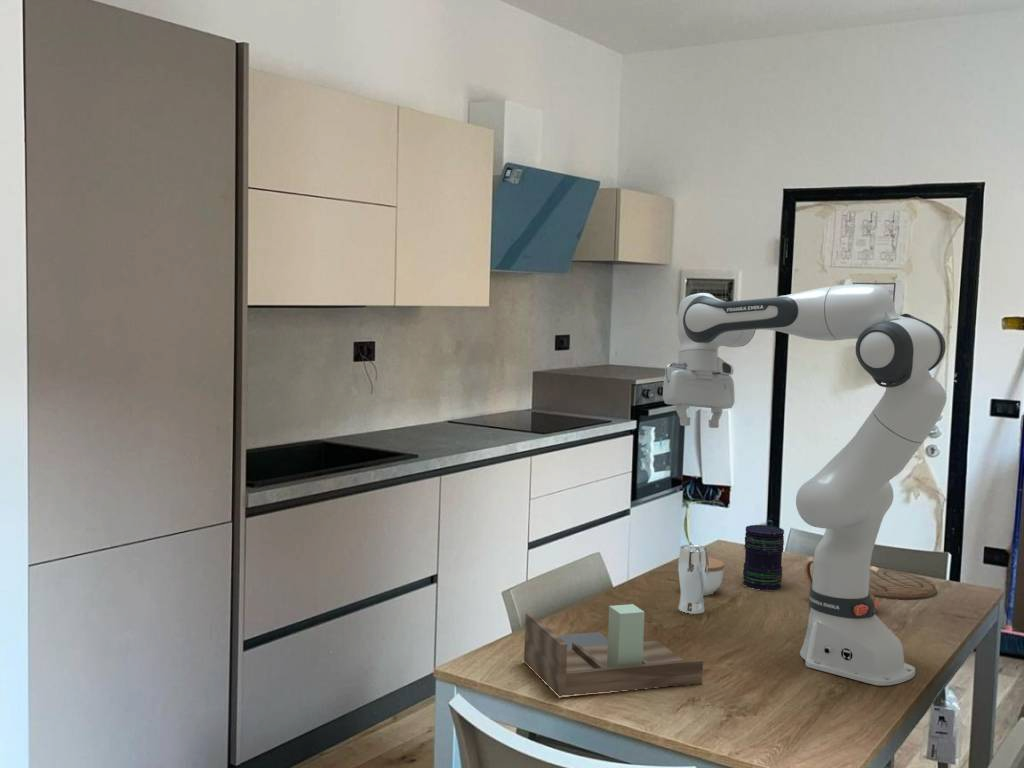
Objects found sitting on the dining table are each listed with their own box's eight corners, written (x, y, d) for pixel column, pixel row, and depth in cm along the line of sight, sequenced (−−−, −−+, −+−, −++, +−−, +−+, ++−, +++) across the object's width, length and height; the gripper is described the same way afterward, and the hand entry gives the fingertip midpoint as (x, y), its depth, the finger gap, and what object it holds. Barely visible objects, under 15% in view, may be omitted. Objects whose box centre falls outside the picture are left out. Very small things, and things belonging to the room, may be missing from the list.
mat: (542, 638, 215) (542, 636, 215) (598, 633, 219) (598, 631, 219) (563, 657, 204) (563, 655, 204) (622, 652, 208) (622, 650, 208)
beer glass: (697, 616, 233) (700, 553, 232) (671, 610, 238) (673, 548, 236) (711, 610, 239) (714, 547, 238) (684, 604, 243) (687, 542, 242)
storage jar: (734, 582, 264) (737, 526, 263) (764, 579, 268) (767, 523, 267) (758, 592, 255) (761, 534, 254) (789, 589, 259) (792, 532, 258)
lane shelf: (523, 662, 200) (525, 613, 200) (656, 650, 210) (658, 603, 209) (559, 698, 183) (561, 644, 182) (701, 683, 192) (704, 632, 191)
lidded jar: (692, 583, 262) (694, 548, 261) (730, 592, 255) (732, 555, 254) (671, 592, 253) (673, 555, 253) (709, 601, 247) (711, 563, 246)
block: (606, 667, 194) (609, 605, 193) (630, 664, 195) (633, 604, 194) (617, 676, 189) (620, 613, 188) (641, 674, 191) (644, 611, 190)
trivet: (872, 603, 250) (872, 596, 250) (815, 576, 274) (816, 569, 274) (957, 598, 256) (957, 591, 256) (895, 572, 280) (895, 566, 280)
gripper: (676, 359, 219) (677, 423, 218) (738, 367, 232) (740, 428, 230) (655, 363, 224) (656, 425, 223) (717, 370, 237) (718, 429, 235)
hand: (699, 426), depth 226 cm, fingers open, 8 cm apart
